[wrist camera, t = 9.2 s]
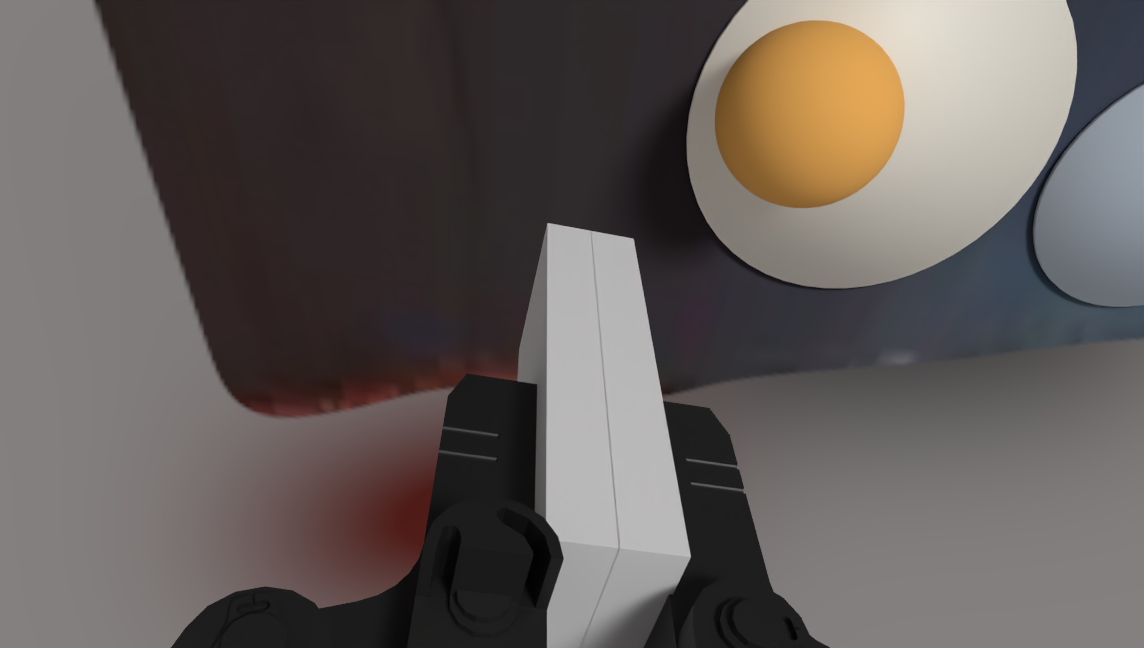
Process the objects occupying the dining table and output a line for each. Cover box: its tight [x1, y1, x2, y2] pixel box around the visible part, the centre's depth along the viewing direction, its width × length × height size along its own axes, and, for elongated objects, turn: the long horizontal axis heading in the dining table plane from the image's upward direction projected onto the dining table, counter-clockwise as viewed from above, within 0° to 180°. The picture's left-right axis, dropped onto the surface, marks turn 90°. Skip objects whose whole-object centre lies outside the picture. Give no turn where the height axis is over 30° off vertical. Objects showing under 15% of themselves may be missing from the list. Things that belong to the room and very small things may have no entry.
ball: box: [715, 20, 905, 208], centre depth 23 cm, size 6×6×6 cm
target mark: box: [686, 0, 1077, 288], centre depth 26 cm, size 13×13×1 cm
